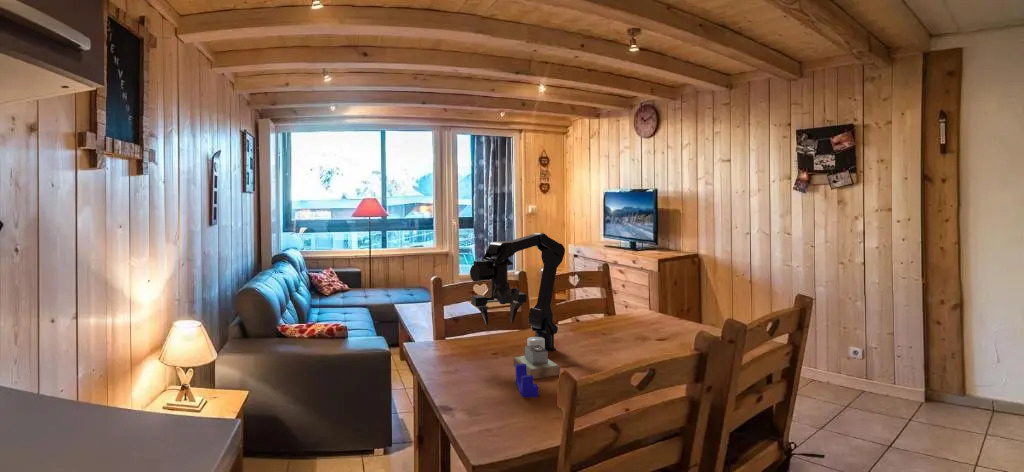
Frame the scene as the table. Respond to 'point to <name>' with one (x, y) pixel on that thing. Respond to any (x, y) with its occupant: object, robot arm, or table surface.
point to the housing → (536, 355)
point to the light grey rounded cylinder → (536, 341)
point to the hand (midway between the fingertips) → (499, 323)
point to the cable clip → (525, 382)
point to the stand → (538, 368)
